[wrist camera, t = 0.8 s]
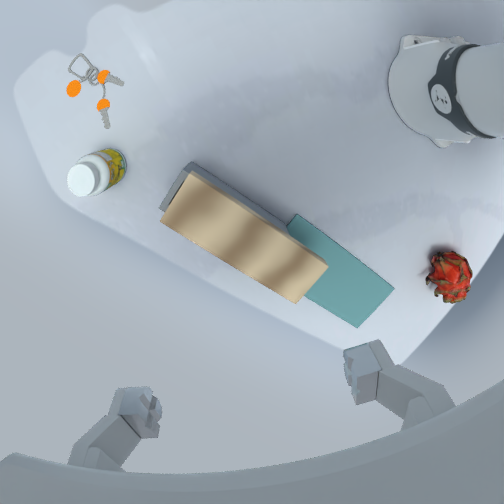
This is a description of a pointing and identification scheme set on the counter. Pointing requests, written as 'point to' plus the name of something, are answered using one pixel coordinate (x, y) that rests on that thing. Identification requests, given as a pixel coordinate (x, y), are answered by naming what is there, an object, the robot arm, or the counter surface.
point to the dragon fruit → (450, 276)
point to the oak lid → (243, 238)
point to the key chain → (102, 77)
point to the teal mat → (340, 277)
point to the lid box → (221, 185)
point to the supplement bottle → (96, 172)
